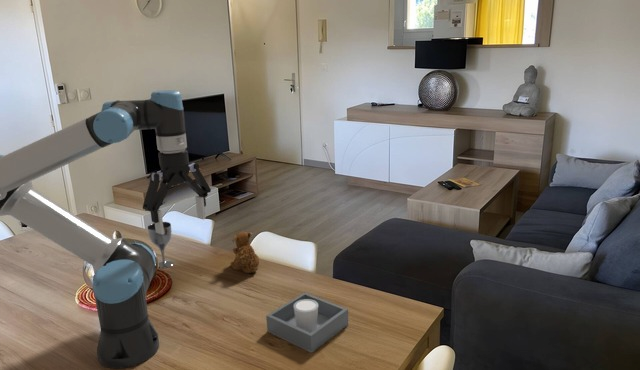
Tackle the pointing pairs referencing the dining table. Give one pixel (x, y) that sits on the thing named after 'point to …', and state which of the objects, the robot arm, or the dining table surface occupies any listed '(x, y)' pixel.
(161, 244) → the wine glass
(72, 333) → the dining table surface
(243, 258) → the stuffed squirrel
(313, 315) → the white cup
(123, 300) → the robot arm
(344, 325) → the charcoal bin
